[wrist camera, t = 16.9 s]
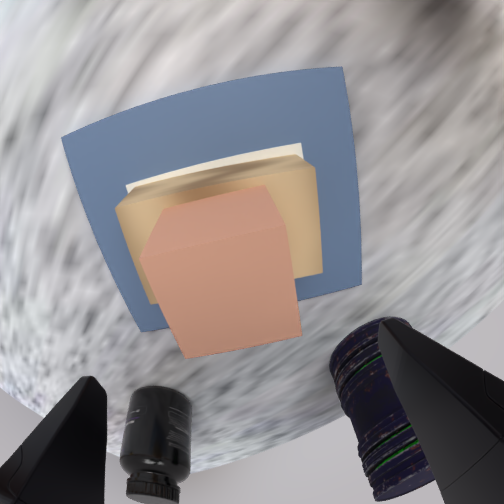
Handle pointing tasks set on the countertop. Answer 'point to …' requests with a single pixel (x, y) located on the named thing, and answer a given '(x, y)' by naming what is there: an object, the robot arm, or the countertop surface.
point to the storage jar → (378, 415)
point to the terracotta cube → (223, 273)
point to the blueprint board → (225, 164)
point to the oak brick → (224, 181)
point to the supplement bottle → (156, 445)
